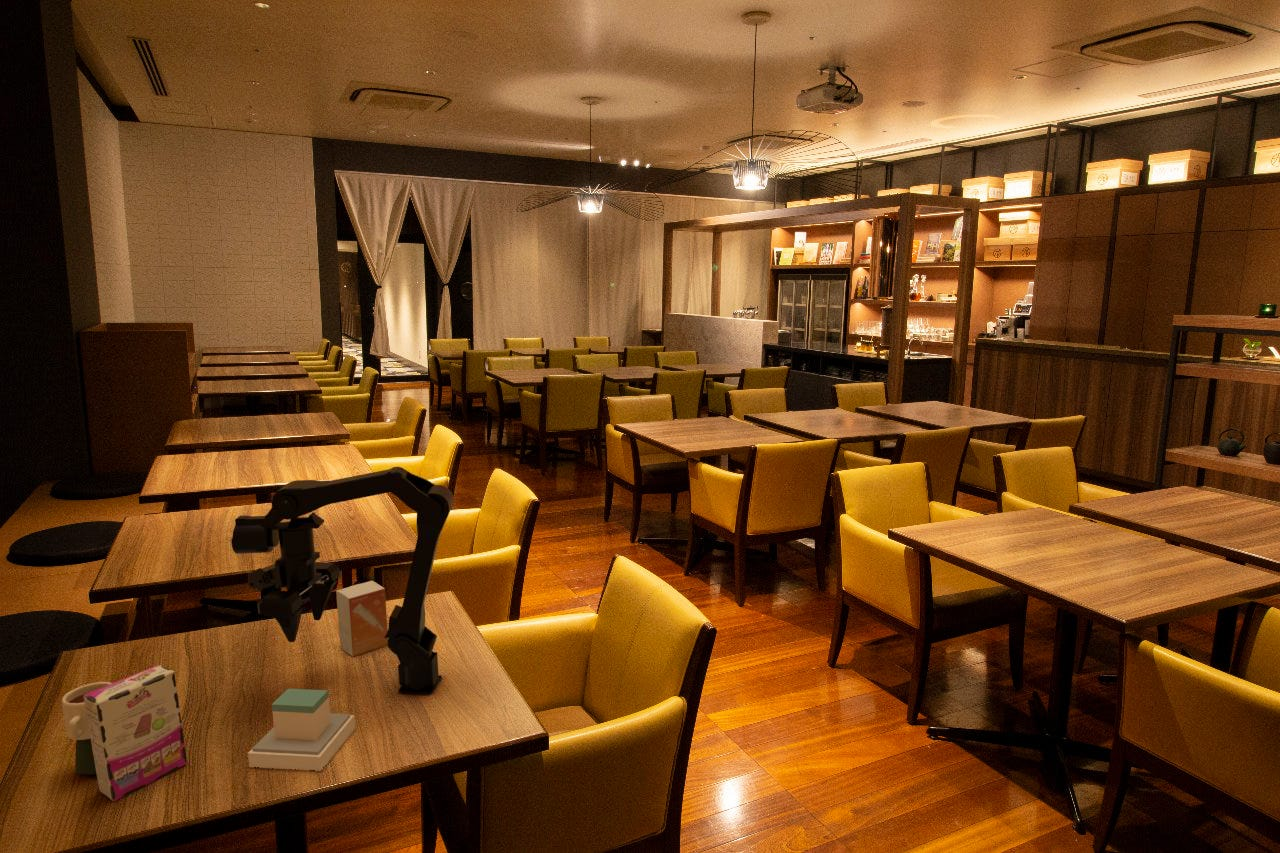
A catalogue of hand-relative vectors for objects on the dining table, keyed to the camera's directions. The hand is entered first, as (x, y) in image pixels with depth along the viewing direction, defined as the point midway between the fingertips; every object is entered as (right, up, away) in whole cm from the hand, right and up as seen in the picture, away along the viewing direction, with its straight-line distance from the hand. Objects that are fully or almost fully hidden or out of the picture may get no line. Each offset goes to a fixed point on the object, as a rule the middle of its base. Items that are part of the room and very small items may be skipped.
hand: (304, 630), depth 145 cm
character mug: (-24, -17, -20) cm, 36 cm away
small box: (+4, -9, +21) cm, 23 cm away
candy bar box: (-15, -17, -23) cm, 33 cm away
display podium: (+6, -16, -15) cm, 23 cm away
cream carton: (+6, -13, -16) cm, 21 cm away
